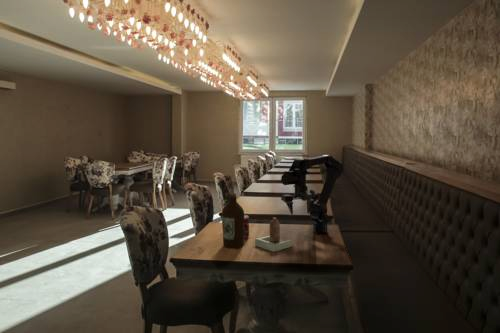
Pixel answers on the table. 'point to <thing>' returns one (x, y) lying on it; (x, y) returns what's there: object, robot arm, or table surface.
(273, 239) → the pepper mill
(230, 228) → the olive oil
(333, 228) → the table surface
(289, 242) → the pale green u-shaped block
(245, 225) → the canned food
